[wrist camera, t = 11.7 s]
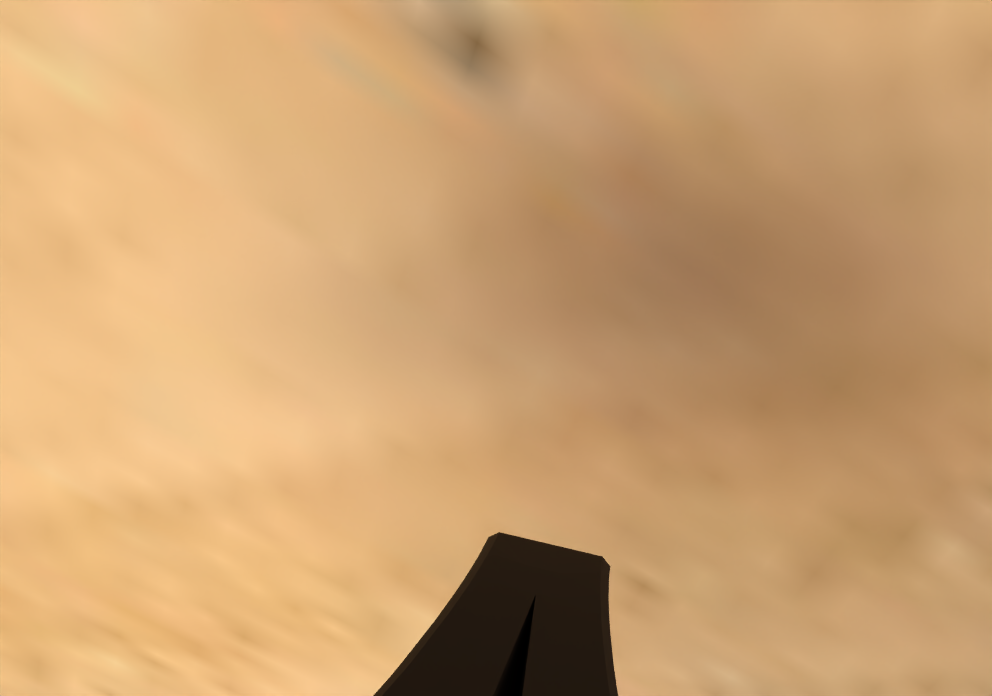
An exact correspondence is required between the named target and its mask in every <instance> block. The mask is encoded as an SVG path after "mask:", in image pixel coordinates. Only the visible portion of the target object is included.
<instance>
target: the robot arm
mask: <svg viewBox="0 0 992 696" xmlns="http://www.w3.org/2000/svg"><path fill="white" fill-rule="evenodd" d="M609 572H610V566H609V564H608V563H607V562H606V561H605V559H604V558H603V557H602V556H597V555H593V554H589V553H585V552H580V551H576V550H572V549H568V548H564V547H559V546H555V545H551V544H547V543H542V542H538V541H534V540H530V539H525V538H521V537H517V536H513V535H508V534H504V533H500V532H499V533H497V534H494V535H492V536H490V537H489V538H488V539H487V541H486V543H485V545H484V547H483V549H482V551H481V553H480V555H479V556H478V558H477V560H476V561H475V563H474V565H473V566H472V568H471V569H470V571H469V573H468V574H467V576H466V577H465V579H464V580H463V582H462V583H461V585H460V586H459V588H458V589H457V591H456V592H455V594H454V595H453V596H452V598H451V599H450V601H449V602H448V603H447V605H446V606H445V608H444V609H443V610H442V612H441V613H440V615H439V616H438V617H437V619H436V620H435V621H434V623H433V624H432V625H431V626H430V628H429V629H428V630H427V632H426V633H425V634H424V635H423V637H422V638H421V639H420V640H419V642H418V643H417V644H416V645H415V647H414V648H413V649H412V651H411V652H410V653H409V654H408V656H407V657H406V658H405V659H404V661H403V662H402V663H401V664H400V666H399V667H398V668H397V669H396V670H395V672H394V673H393V674H392V675H391V676H390V678H389V679H388V680H387V681H386V682H385V683H384V684H383V686H382V687H381V688H380V689H379V690H378V691H377V692H376V693H375V694H374V696H618V692H617V686H616V679H615V672H614V665H613V655H612V646H611V636H610V623H609V601H608V595H609Z"/></svg>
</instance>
